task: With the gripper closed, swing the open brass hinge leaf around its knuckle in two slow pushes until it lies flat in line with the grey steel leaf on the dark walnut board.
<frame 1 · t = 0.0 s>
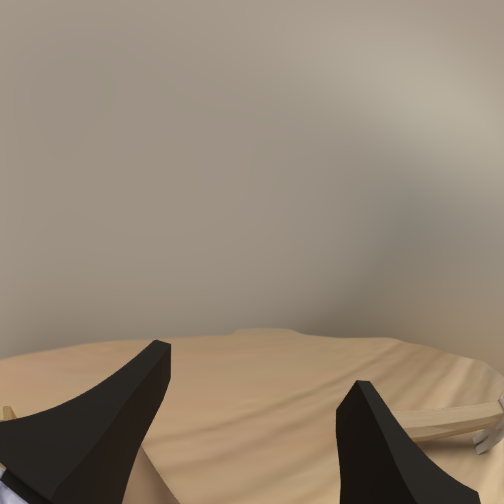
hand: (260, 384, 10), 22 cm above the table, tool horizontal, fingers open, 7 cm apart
hammer: (426, 447, 26), on the table
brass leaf: (22, 466, 11), point 3 cm above the table, hinge at 90.0°
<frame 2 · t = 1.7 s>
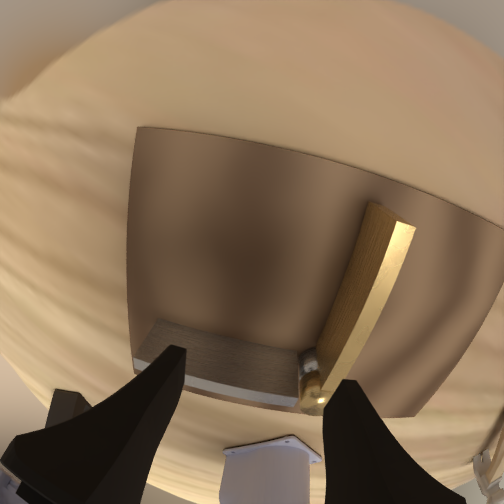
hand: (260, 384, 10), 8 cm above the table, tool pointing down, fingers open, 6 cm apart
walnut board: (314, 351, 19), on the table
steel leaf: (240, 367, 17), on the walnut board, point 3 cm above the table
phone stand: (86, 410, 28), on the table
hammer: (495, 430, 25), on the table
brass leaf: (347, 322, 14), point 3 cm above the table, hinge at 90.0°
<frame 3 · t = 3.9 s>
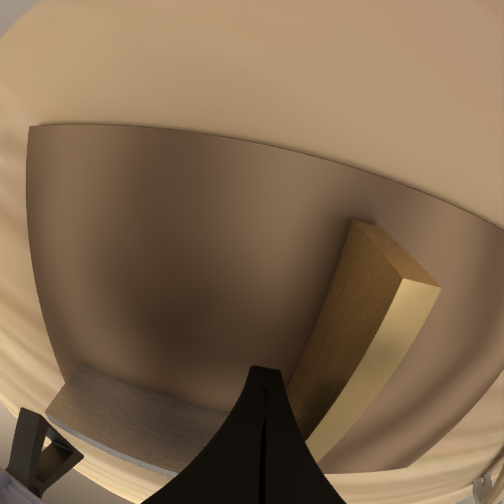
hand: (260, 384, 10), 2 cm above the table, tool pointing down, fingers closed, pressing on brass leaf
walnut board: (276, 414, 13), on the table
steel leaf: (171, 436, 11), on the walnut board, point 3 cm above the table
phone stand: (52, 431, 23), on the table
hammer: (498, 455, 19), on the table
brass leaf: (310, 407, 9), point 3 cm above the table, hinge at 90.0°, touching gripper
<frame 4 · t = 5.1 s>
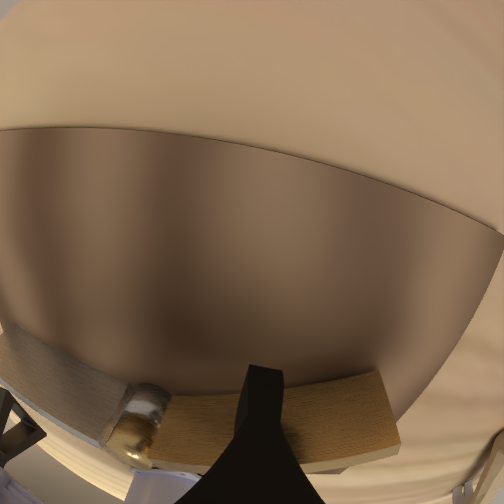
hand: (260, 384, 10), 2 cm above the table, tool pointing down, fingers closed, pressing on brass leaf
walnut board: (159, 387, 14), on the table
steel leaf: (61, 388, 11), on the walnut board, point 3 cm above the table
phone stand: (20, 409, 23), on the table
hammer: (477, 465, 20), on the table
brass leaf: (237, 433, 10), point 3 cm above the table, hinge at 27.4°, touching gripper
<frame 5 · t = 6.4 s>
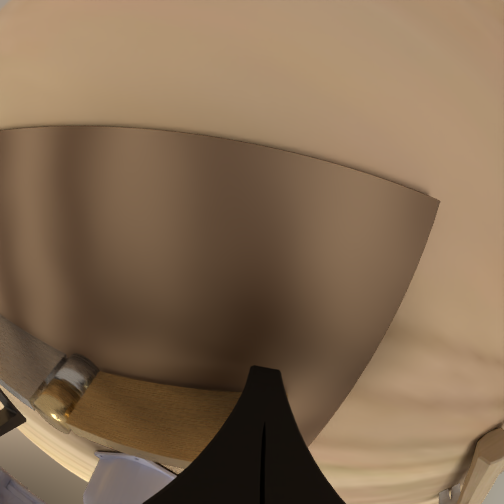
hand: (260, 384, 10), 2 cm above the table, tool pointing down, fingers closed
walnut board: (92, 360, 14), on the table
steel leaf: (12, 356, 11), on the walnut board, point 3 cm above the table
phone stand: (2, 395, 23), on the table
hammer: (462, 469, 19), on the table
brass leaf: (145, 418, 10), point 3 cm above the table, hinge at 14.8°, touching gripper
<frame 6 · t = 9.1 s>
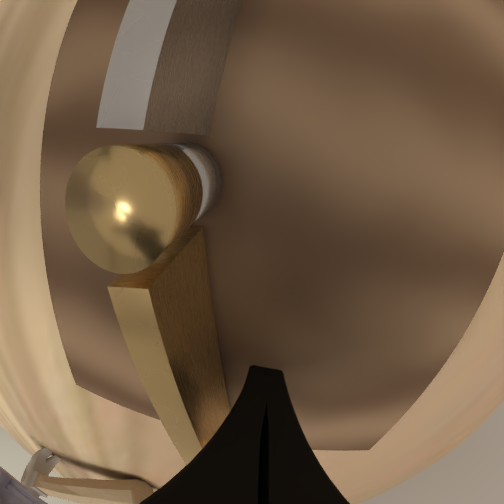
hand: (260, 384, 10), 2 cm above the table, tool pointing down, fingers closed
walnut board: (193, 176, 9), on the table
steel leaf: (199, 1, 4), on the walnut board, point 3 cm above the table
hammer: (85, 464, 27), on the table
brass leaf: (187, 357, 8), point 3 cm above the table, hinge at 14.5°, touching gripper
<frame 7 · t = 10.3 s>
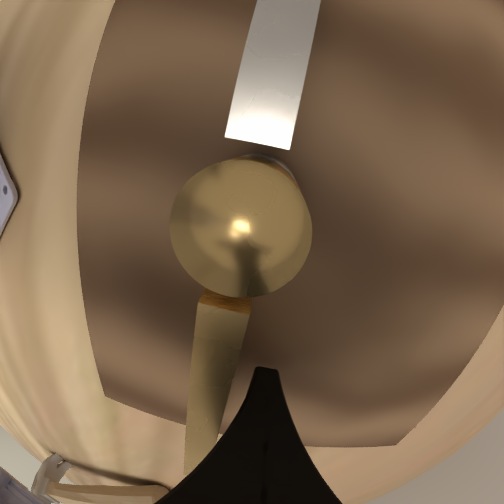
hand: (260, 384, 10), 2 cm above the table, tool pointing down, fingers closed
walnut board: (260, 187, 9), on the table
steel leaf: (294, 10, 5), on the walnut board, point 3 cm above the table
hammer: (99, 470, 27), on the table
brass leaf: (218, 364, 8), point 3 cm above the table, hinge at -0.4°, touching gripper
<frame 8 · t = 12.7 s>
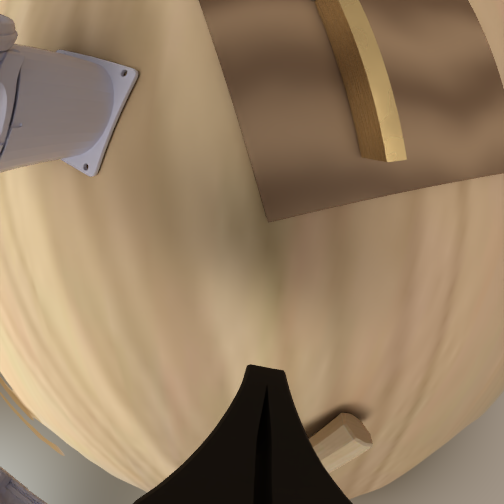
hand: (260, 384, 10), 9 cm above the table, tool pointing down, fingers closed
hammer: (262, 454, 29), on the table
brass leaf: (350, 40, 10), point 3 cm above the table, hinge at -1.9°
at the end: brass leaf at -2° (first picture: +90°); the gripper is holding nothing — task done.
